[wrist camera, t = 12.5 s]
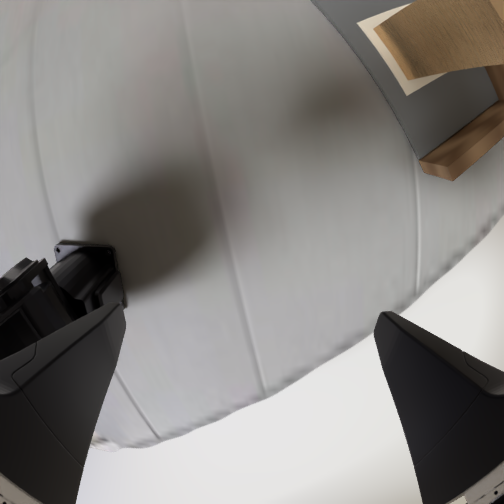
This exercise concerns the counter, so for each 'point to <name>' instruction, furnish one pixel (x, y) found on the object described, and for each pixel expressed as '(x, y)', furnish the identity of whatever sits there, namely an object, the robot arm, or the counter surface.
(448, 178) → the corner walls
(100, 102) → the counter surface
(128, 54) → the counter surface
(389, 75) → the mat
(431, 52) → the wooden l-shaped block
